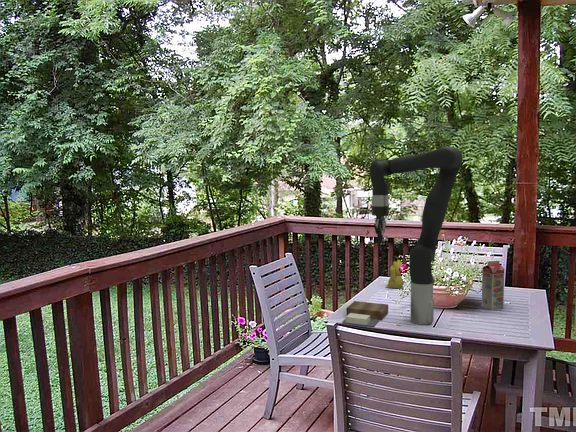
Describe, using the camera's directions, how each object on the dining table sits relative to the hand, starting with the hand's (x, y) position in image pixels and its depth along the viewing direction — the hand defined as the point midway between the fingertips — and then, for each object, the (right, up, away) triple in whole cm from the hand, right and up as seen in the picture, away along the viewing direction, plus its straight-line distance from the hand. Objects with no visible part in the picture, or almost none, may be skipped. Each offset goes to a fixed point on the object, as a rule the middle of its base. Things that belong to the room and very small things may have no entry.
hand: (380, 242), depth 224 cm
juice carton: (+54, -31, +6) cm, 62 cm away
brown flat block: (-6, -32, -2) cm, 33 cm away
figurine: (+17, -27, +47) cm, 57 cm away
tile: (-12, -32, -13) cm, 36 cm away
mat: (-11, -34, -12) cm, 37 cm away
